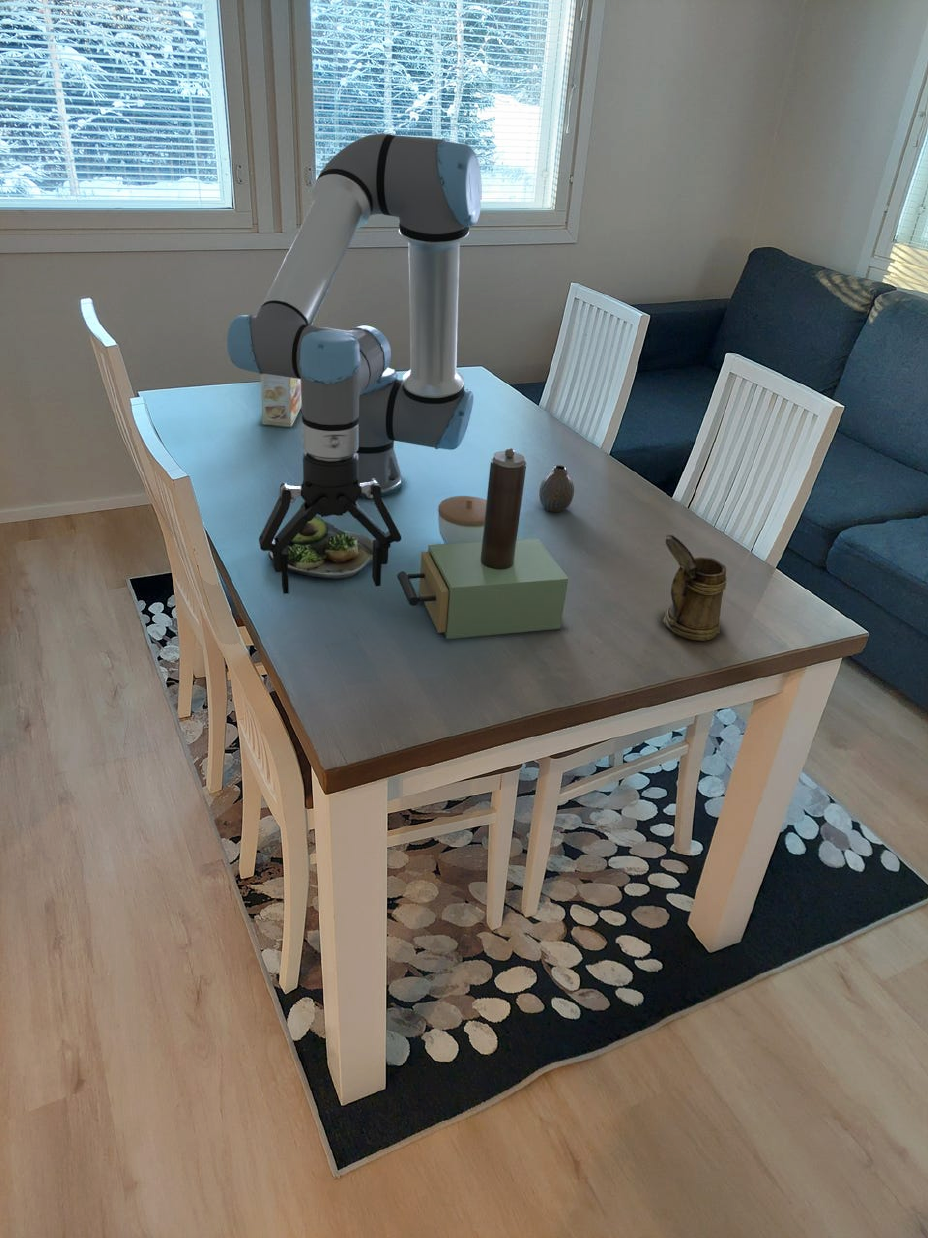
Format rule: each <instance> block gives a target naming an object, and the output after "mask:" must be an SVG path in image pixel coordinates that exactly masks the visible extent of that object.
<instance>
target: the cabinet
mask: <svg viewBox="0 0 928 1238" xmlns="http://www.w3.org/2000/svg"><path fill="white" fill-rule="evenodd" d="M481 550H482V542H469V543H452V544H446V543H437V544H428V549H427V552H429V554H430V556H431V558H432V559H433V561H434V563H435V565H436V567H437V566H438V568H439V570H440V572H441V574H442V576H443V578H444V580H445V582H446V583H447V585H448V587H449V589H450V593H449V605H448V616H447V622H446V632H443V634H444V635H445V638H446V639H447V640H453V639H454V640H455V639H462V638H463V639H464V638H473V637H475V638H476V637H485V636H486V637H487V636H494V635H506V634H517V633H527V632H539V631H550V630H559V629H561V626H562V620H563V619H562V618H563V614H564V607H565V601H566V597H567V590H568V584H569V577H568V576H567V575H566V574H565V572H564V571H563V570H562V569H561V567H560V565H559V564H558V563H557V562H556V560H555V559H554V558H553V557H552V555H551V554H550V552H549V551H548V550H547V549H546V547H545V546H544V545H543V543H542V542H541V540H539V538H538V537H537V538H536V537H535V538H521V539H518V538H517V542H516V549H515V557H514V564H513V566H512V567H510V568H507V569H492V568H489V567H486V566H485V565H483V564H482V563H481Z"/></svg>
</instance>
